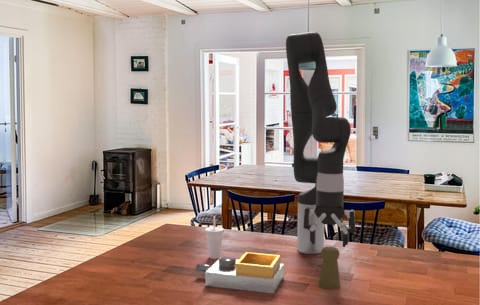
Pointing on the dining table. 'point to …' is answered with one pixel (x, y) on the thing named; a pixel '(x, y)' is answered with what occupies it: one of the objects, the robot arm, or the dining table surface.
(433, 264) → the dining table surface
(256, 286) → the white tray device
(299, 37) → the robot arm
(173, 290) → the dining table surface
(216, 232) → the smoothie
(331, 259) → the cork
